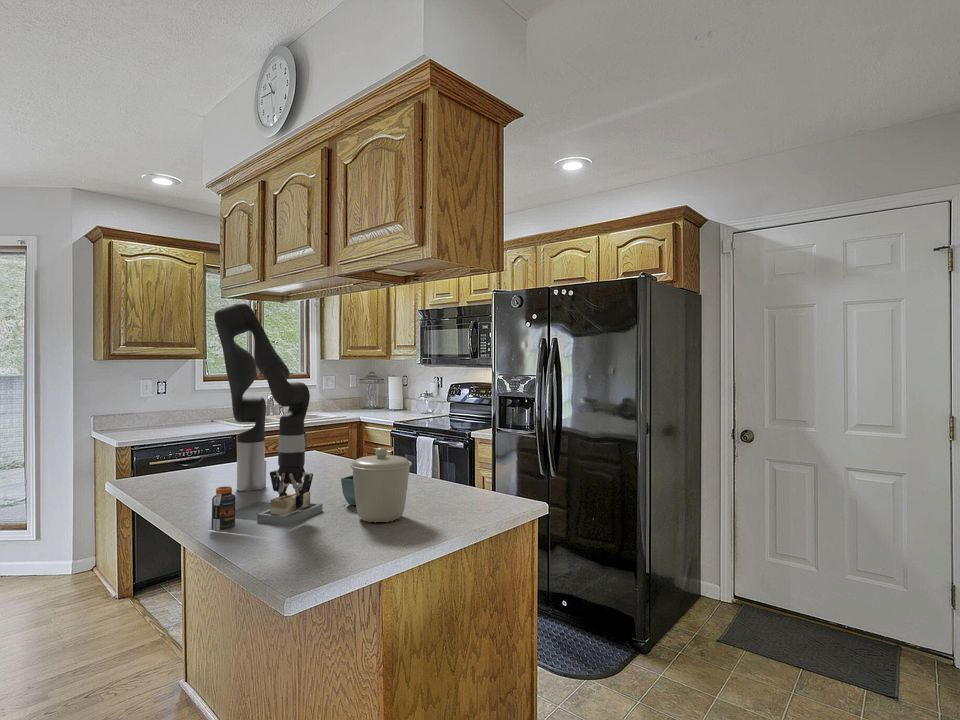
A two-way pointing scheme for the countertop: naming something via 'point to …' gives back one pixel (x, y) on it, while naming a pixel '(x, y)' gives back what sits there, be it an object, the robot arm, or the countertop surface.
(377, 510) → the canister
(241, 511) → the rubber mat
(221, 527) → the pill bottle
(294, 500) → the wooden block
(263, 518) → the slate tray
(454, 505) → the countertop surface
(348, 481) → the flower pot
